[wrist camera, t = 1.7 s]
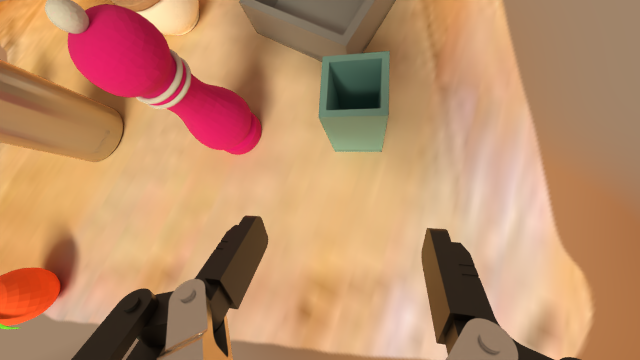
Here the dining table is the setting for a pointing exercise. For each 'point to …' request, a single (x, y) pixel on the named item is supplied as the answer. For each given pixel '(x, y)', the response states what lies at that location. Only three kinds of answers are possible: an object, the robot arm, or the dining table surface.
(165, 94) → the pepper mill
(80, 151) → the robot arm
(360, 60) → the teal crate
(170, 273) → the dining table surface
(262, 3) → the tray
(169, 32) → the lidded jar
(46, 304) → the clementine
